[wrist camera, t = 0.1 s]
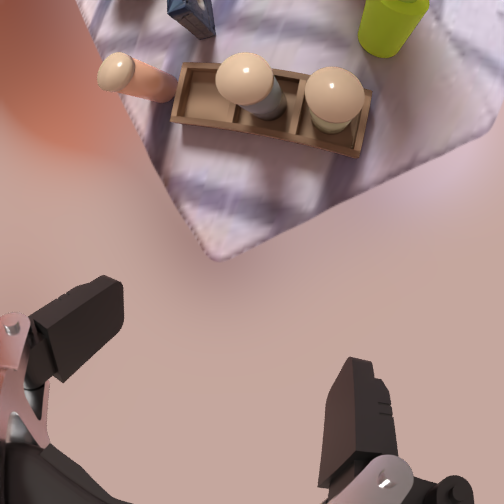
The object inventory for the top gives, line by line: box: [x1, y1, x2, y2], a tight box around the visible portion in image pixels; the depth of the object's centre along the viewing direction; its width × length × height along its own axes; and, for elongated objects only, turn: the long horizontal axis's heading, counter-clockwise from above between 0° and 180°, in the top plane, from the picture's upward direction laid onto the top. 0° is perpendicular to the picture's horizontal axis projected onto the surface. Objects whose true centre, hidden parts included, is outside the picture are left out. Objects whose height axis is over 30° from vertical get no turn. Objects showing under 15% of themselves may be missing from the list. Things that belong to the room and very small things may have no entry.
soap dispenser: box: [358, 0, 429, 58], centre depth 17 cm, size 6×7×20 cm
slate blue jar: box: [216, 53, 287, 121], centre depth 26 cm, size 5×5×12 cm
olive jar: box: [305, 67, 365, 135], centre depth 25 cm, size 5×5×12 cm
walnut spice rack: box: [170, 62, 372, 159], centre depth 31 cm, size 8×24×4 cm, turn 79°
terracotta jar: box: [97, 52, 178, 103], centre depth 29 cm, size 5×5×12 cm
